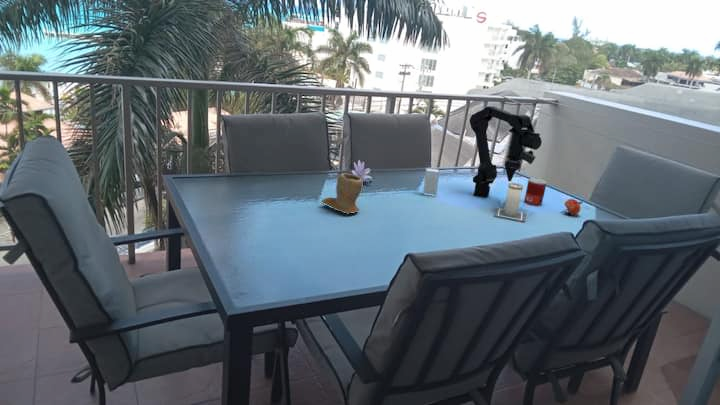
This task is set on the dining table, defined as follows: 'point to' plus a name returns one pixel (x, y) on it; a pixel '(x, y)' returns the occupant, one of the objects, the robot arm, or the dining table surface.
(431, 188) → the skincare box
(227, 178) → the dining table surface
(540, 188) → the canned food
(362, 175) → the water lily
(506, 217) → the mat
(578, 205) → the pomegranate
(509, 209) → the tumbler
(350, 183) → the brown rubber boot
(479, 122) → the robot arm
